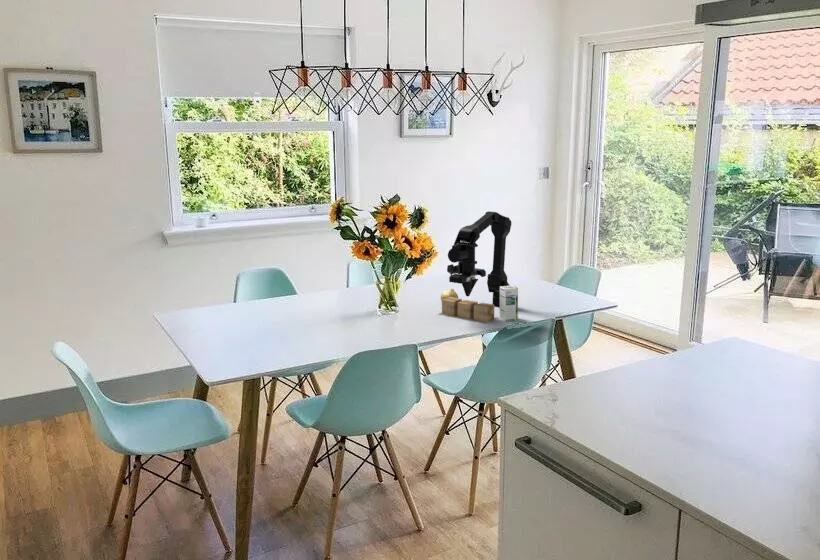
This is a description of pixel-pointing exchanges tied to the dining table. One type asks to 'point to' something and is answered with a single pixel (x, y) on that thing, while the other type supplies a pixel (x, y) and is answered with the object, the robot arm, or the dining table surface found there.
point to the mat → (466, 318)
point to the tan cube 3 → (450, 306)
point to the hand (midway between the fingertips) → (467, 296)
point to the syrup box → (509, 303)
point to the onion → (449, 294)
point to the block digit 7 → (484, 312)
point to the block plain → (466, 309)
